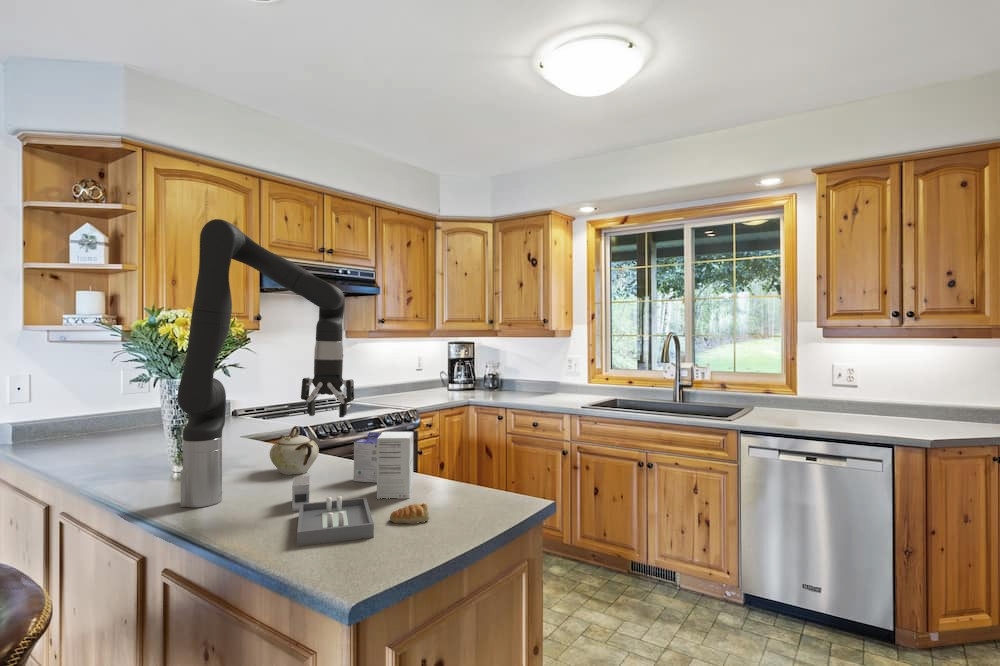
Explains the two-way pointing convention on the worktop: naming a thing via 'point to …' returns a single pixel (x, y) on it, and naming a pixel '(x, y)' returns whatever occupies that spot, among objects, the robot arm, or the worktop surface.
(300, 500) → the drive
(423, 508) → the pastry
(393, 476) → the supplement box
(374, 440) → the ink cartridge box
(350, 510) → the guide tray
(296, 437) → the sugar bowl
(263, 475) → the worktop surface
